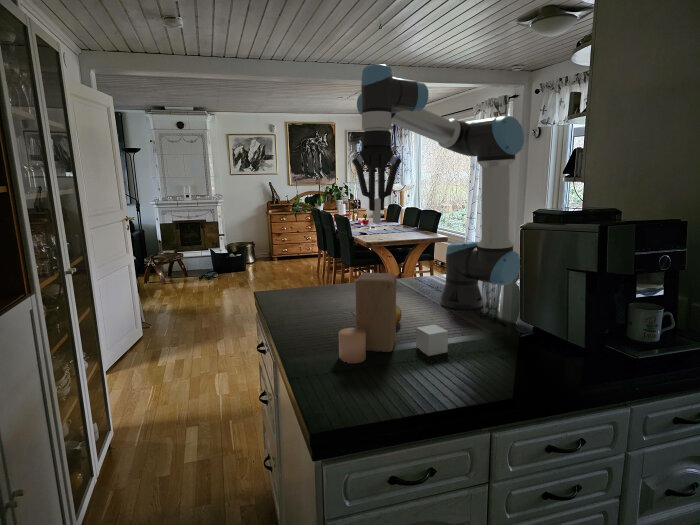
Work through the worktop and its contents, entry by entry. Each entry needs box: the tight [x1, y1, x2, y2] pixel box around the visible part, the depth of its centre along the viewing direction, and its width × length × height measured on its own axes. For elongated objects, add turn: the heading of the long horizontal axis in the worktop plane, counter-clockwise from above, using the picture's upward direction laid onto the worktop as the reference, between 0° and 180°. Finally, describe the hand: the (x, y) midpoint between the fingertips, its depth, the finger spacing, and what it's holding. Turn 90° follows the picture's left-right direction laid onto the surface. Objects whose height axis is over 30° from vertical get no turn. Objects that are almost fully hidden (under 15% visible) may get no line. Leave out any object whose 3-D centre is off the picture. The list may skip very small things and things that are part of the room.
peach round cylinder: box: [338, 327, 367, 364], centre depth 112 cm, size 7×7×7 cm
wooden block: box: [355, 272, 397, 353], centre depth 119 cm, size 10×10×20 cm
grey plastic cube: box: [415, 324, 449, 357], centre depth 117 cm, size 6×6×6 cm
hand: (376, 223), depth 115 cm, fingers closed
